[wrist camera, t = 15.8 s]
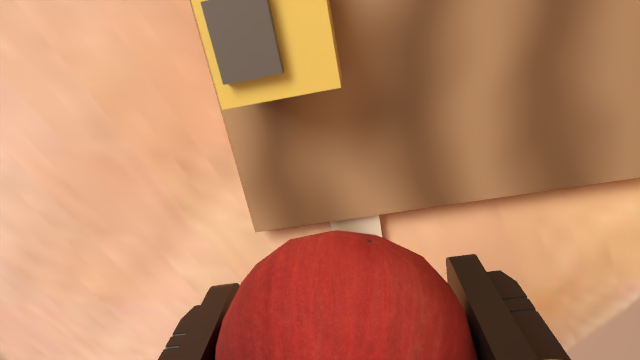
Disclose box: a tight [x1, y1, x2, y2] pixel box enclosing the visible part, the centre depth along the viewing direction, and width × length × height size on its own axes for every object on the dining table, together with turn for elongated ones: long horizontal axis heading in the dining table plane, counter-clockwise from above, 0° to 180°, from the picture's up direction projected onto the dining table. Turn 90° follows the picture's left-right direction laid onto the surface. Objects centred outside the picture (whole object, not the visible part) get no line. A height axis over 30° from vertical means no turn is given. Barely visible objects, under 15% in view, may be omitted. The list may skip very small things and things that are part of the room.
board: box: [190, 0, 640, 237], centre depth 20 cm, size 22×18×1 cm
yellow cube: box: [191, 0, 342, 110], centre depth 16 cm, size 5×5×5 cm
